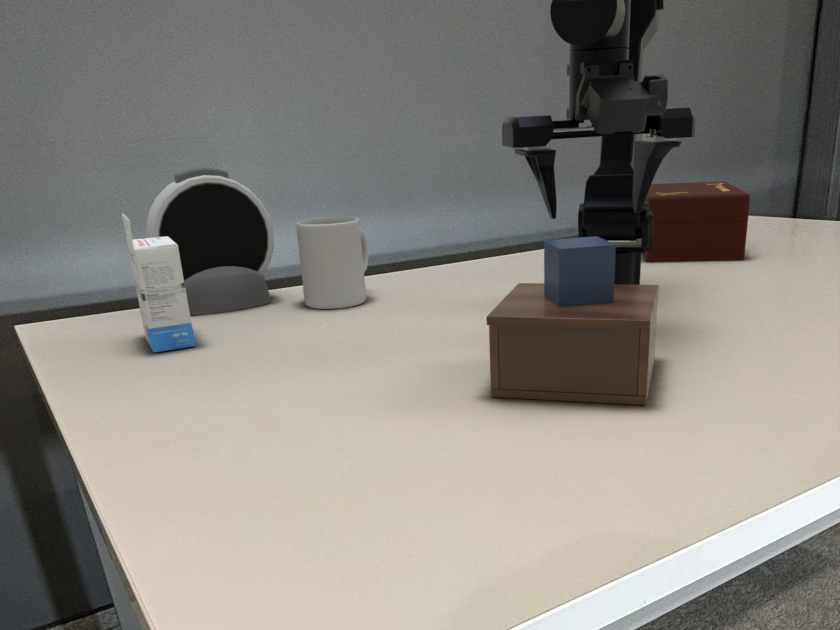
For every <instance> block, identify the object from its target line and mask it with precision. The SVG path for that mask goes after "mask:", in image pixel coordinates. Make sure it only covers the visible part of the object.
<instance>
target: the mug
mask: <svg viewBox="0 0 840 630" xmlns="http://www.w3.org/2000/svg"><path fill="white" fill-rule="evenodd" d="M295 229H296V236H297V246H298V254H299V263H300V271H301V280H302V290H303V300H304V304H305V306H307V307H308V308H311V309H319V310H334V309H346V308H351V307H355V306H358V305H361V304H363V303H365V302H366V300H367V288H366V287H367V286H366V279H365V272H366V271H367V269H368V265H369V244H368V239H367V235H366V232H365V230H363V228H361V224H360V219H359V218H358V217H356V216H346V215H345V216H342V215H338V216H336V215H335V216H320V217H313V218H312V217H311V218H305V219H301V220H298V221H296V223H295Z"/></svg>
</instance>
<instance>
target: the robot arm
mask: <svg viewBox="0 0 840 630" xmlns="http://www.w3.org/2000/svg"><path fill="white" fill-rule="evenodd" d="M665 8H666V0H551V3H550V10H549V11H550V12H549V13H550V20H551V25H552V27H553V29H554V31H555V33H556V34H557V36H558V37H559V38H560V39H561V40H563V41H564V42H565V43H567V44H569V63H568V64H566V76H567V77H568V79H569V83H568V86H569V87H568V91H569V92H568V94H569V95H568V108H566V119H560V120H553V118H552V115H550V114H530V115H517V116H516V115H514V116H506V118H505V119H504V120H503V122H502V125H501V126H502V127H501V145H502V147H507V148H512V149H514V154H515V155H517V156H522V157H524V158H525V160H526V162H527V164H528V166H529V168H530V170H531V172H532V174H533V176H534V178H535V180H536V183H537V186H538V188H539V189H538V190H539V191H540V193H541V197H542V199H543V202H544V206H545V208H546V210H547V211H546V212H547V213H548V216H549V218H550V219H551V220H556V219H557V211H558V210H557V207H558V201H557V191H556V190H557V189H556V188H557V187H556V176H555V175H556V174H555V161H556V155H557V149H553V148H551V147H550V146H551V145H550V143H551V141H552V140H565V139H581V138H597V137H601V144H600V157H599V158H600V159H599V166H598V167H597V169H596V170H595V171H594V173H593V174H590V175H589V176H588V178H587V179H586V182H585V186H584V187H585V188H584V198H583V202H580V203H579V206H578V212H577V232H578V233H577V235H578V238H580V237H594V236H597V237H600V238H602V239H604V240H606V241H609V242H611V243H613V244H615V245H616V253H615V281H614V284H624V285H641V268H642V253H646V251H653V238H654V215H653V214H652V212H651V211H650V208H649V202H645V199H646V197H647V194H648V191H649V189H650V186H651V184H653V181H654V178H655V176H656V173H657V171H658V170H659V168H660V166H661V164H662V162H663V161H664V159H665V158H666V156H667V155H668V154H669V153H670V152H671V150H673V149H674V148H680V147H681V145H682V143H683V141H679V140H677V139H683V138H694V137H695V136H696V124H697V123H696V121H697V119H696V116H695V113H694V111H693V110H692V109H691V107H689V106H687V107H686V106H685V107H684V106H681V107H680V106H676V107H675V106H674V107H672V106H671V107H667V106H668V101H669V79H668V77H666V76H665V75H664V74H650V75H649V74H648V75H647V74H646V75H644V77H643V79H642V73H643V72H642V69H643V58H644V57H643V56H644V51H645V49H646V48H647V47H648V46H649V44H650V42H651V40H652V39H653V38H654V36H655V35H656V33H657V31H658V30H659V29H658V28H659V19H660V11H664V10H665ZM585 121H589V122H590V123H591V125H583V126H580V124H584V123H585ZM638 135H641V140H637V138H638ZM637 239H642V242H637Z"/></svg>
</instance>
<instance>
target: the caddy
mask: <svg viewBox="0 0 840 630" xmlns="http://www.w3.org/2000/svg"><path fill="white" fill-rule="evenodd" d="M658 303H659V294H658V295H657V300H656V304H655V308H654V313H653V317H652V322H651V326H650V329H649V330H639V329H604V328H568V327H532V326H497V325H488V336H489V338H488V340H489V341H488V343H489V378H490V379H489V380H490V397H491V398H502V399H503V398H505V399H523V400H539V401H540V400H541V401H542V400H543V401H560V402H579V403H598V404H614V405H615V404H617V405H632V406H633V405H634V406H647V403H648V396H649V392H650V387H651V386H650V385H651V380H652V375H653V370H654V364H655V353H656V352H655V351H656V335H657V318H658Z"/></svg>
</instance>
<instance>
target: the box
mask: <svg viewBox="0 0 840 630" xmlns="http://www.w3.org/2000/svg"><path fill="white" fill-rule="evenodd" d="M645 202H649V208H650V211H651V212H652V214H653V215H654V238H653V251H646V253H641V255H642V256H643V258H644V260H645V262H646V263H661V262H664V263H665V262H702V261H703V262H705V261H743V260H745V254H746V244H747V236H748V235H747V234H748V224H749V215H750V214H749V213H750V205H751V204H750V203H751V195H750V193H748V192H746V191H744V190H742V189H740V188H739V187H737V186H736V185H734V184H731V183H729V182H727V181H725V180H723V181H698V182H695V181H694V182H669V183H666V182H665V183H652V184H651V186H650V189H649V191H648V194H647V197H646V199H645ZM636 242H642V239H637V240H636Z"/></svg>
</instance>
